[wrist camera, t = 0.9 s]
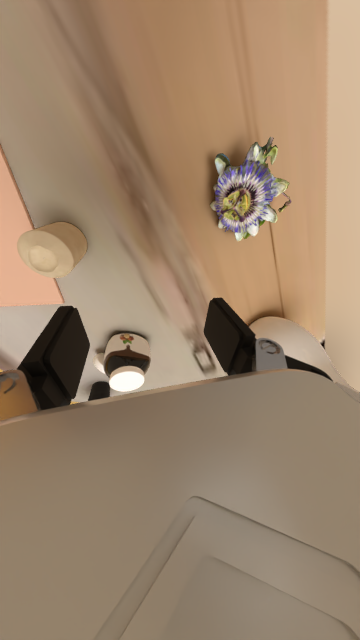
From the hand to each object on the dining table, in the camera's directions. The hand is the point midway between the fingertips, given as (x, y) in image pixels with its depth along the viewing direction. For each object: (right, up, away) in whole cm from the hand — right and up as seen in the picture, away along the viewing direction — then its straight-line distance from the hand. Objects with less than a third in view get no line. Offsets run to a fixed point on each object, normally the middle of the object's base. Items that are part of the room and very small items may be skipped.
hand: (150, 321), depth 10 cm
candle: (-16, +13, +16) cm, 26 cm away
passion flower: (+12, +22, +17) cm, 30 cm away
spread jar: (-13, -7, +31) cm, 35 cm away
